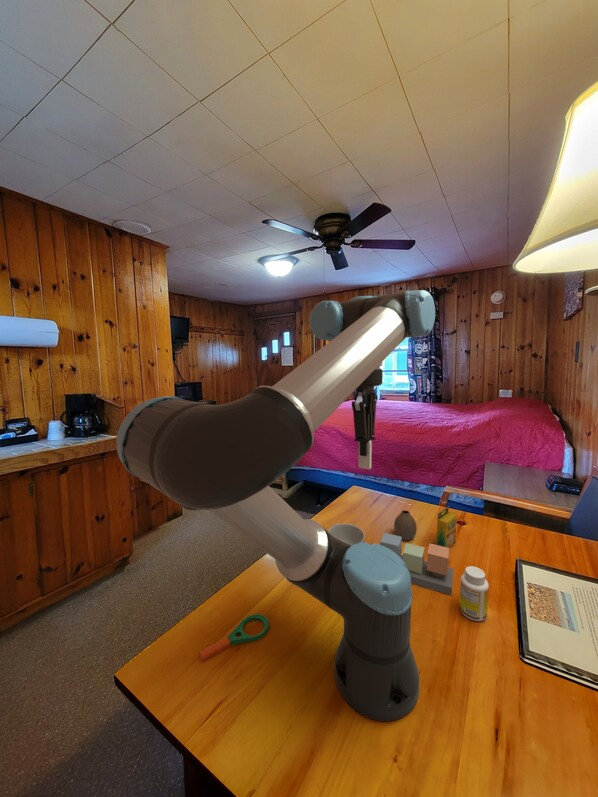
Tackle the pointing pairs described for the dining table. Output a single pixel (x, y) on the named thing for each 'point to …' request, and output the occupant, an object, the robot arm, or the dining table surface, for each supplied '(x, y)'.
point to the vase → (405, 526)
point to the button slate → (392, 543)
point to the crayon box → (446, 529)
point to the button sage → (414, 558)
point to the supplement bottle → (474, 594)
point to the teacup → (347, 533)
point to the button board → (433, 579)
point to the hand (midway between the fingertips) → (364, 467)
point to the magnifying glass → (233, 639)
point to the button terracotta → (438, 559)
